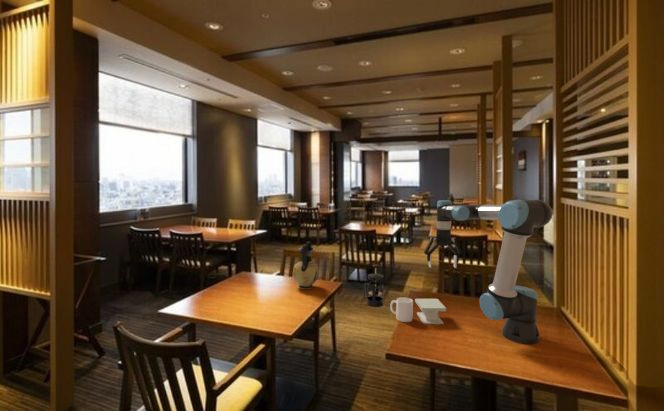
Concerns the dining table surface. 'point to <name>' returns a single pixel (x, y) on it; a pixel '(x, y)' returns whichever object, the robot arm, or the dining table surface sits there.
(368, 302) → the french press
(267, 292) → the dining table surface
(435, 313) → the white butter dish
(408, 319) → the cup
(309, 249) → the amphora
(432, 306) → the white flat slab
